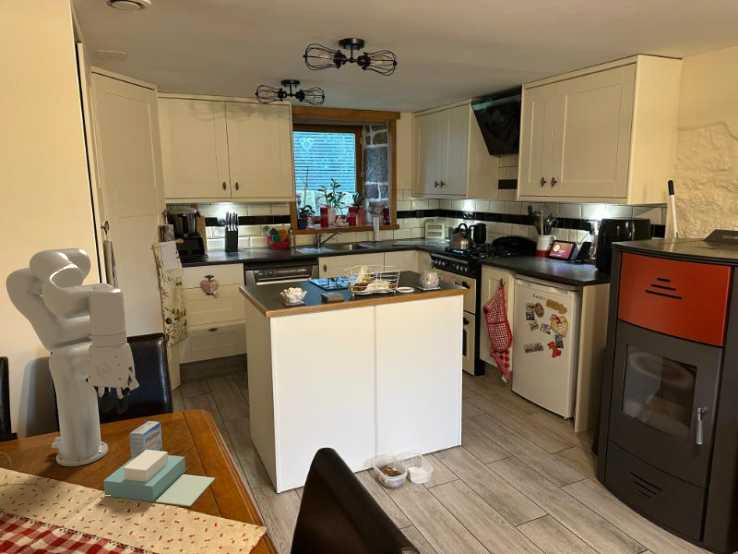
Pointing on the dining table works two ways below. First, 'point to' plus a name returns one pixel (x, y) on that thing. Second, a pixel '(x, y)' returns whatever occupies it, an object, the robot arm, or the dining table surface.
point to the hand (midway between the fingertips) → (115, 410)
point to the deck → (145, 490)
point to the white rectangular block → (145, 465)
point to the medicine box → (146, 438)
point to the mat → (185, 490)
